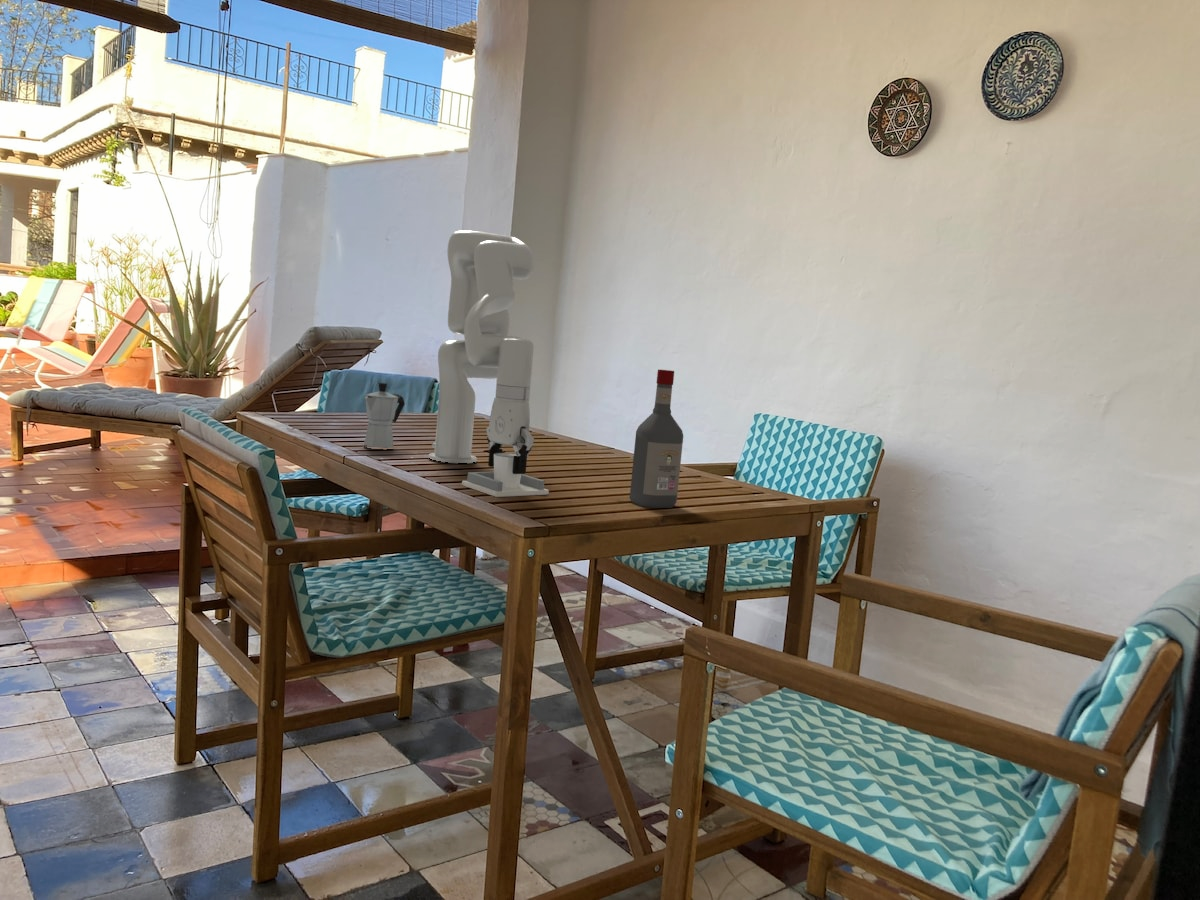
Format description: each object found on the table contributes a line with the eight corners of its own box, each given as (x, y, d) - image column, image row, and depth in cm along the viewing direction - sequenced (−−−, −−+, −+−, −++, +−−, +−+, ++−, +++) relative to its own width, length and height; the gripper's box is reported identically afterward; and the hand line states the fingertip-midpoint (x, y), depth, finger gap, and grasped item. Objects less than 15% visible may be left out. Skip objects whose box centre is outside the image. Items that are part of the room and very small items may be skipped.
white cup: (485, 483, 210) (487, 452, 209) (508, 482, 215) (510, 452, 214) (505, 489, 206) (507, 457, 205) (528, 487, 211) (530, 456, 210)
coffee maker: (373, 451, 251) (377, 384, 249) (350, 446, 255) (354, 380, 253) (412, 448, 263) (416, 384, 261) (389, 444, 268) (393, 381, 266)
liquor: (681, 508, 208) (695, 373, 205) (646, 508, 204) (660, 370, 200) (658, 499, 216) (671, 369, 213) (624, 500, 212) (637, 367, 208)
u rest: (461, 485, 212) (462, 471, 211) (513, 483, 221) (514, 470, 220) (495, 496, 201) (496, 483, 201) (548, 494, 210) (549, 481, 210)
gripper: (477, 389, 212) (471, 464, 214) (520, 397, 199) (514, 477, 201) (505, 390, 217) (499, 463, 219) (549, 398, 204) (542, 476, 206)
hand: (506, 469), depth 210 cm, fingers open, 9 cm apart
